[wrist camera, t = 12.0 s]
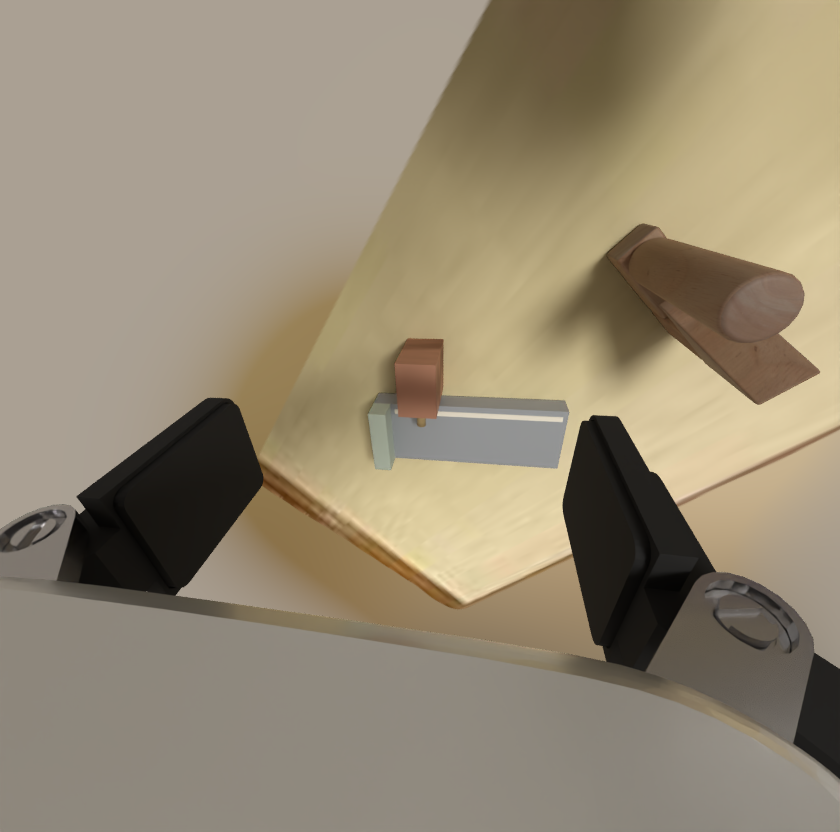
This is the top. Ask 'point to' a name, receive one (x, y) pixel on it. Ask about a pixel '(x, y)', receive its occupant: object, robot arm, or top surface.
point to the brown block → (419, 379)
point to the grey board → (471, 431)
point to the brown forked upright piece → (719, 309)
